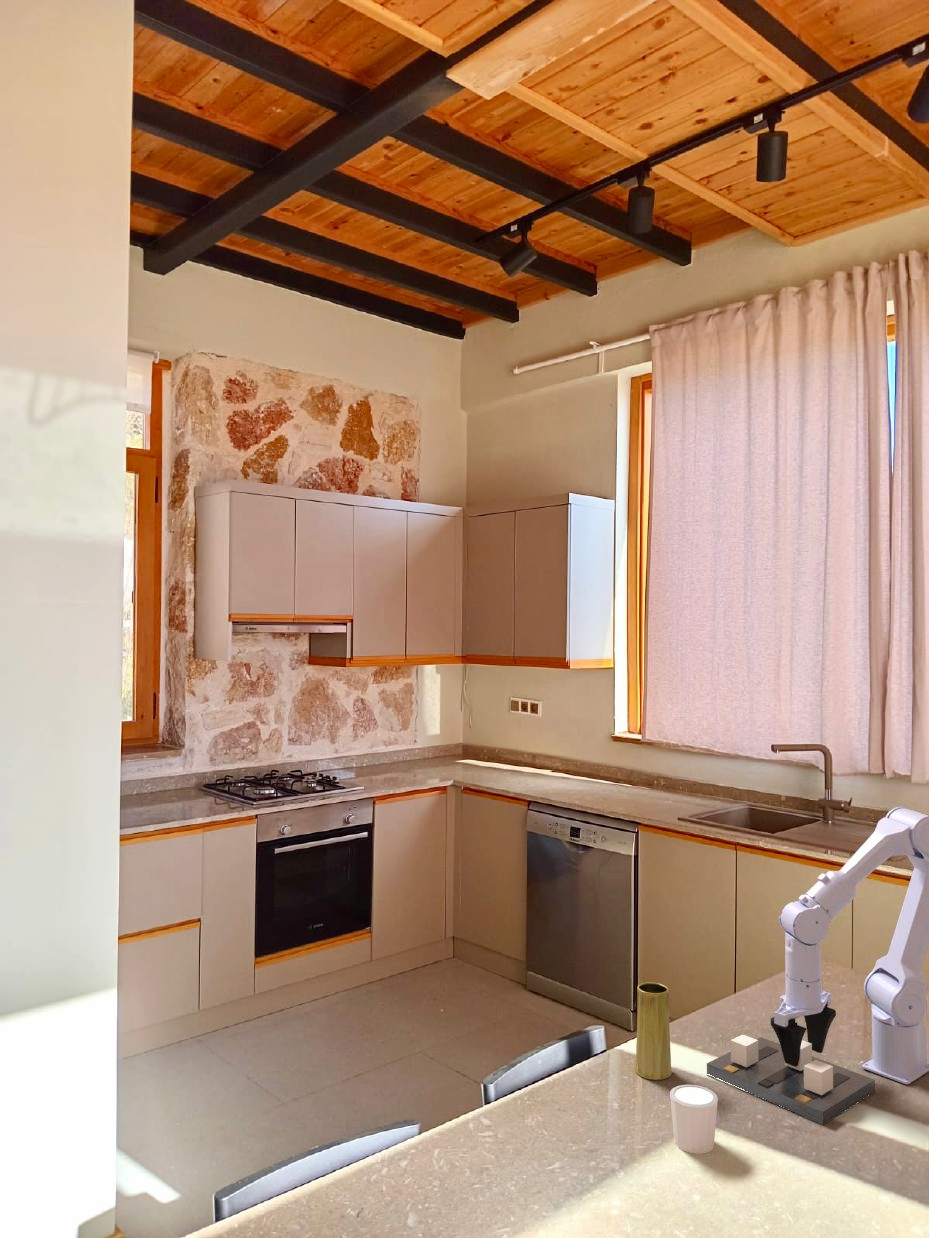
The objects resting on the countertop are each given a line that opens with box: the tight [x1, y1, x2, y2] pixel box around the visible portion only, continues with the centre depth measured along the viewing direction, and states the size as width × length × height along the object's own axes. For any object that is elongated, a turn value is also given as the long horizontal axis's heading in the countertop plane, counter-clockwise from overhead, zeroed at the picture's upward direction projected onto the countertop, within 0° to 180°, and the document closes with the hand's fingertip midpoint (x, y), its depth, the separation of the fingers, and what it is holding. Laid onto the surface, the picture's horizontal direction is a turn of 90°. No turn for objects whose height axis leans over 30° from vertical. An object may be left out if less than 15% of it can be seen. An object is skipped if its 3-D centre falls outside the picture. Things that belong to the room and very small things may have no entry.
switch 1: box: [730, 1034, 758, 1067], centre depth 159 cm, size 4×3×4 cm
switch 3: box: [804, 1060, 833, 1095], centre depth 150 cm, size 4×3×4 cm
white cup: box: [669, 1084, 719, 1155], centre depth 138 cm, size 7×7×7 cm
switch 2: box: [784, 1039, 813, 1071], centre depth 158 cm, size 4×3×4 cm
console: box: [706, 1036, 876, 1126], centre depth 156 cm, size 16×21×2 cm
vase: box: [634, 981, 673, 1081], centre depth 160 cm, size 6×6×14 cm
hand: (803, 1057), depth 159 cm, fingers open, 7 cm apart
